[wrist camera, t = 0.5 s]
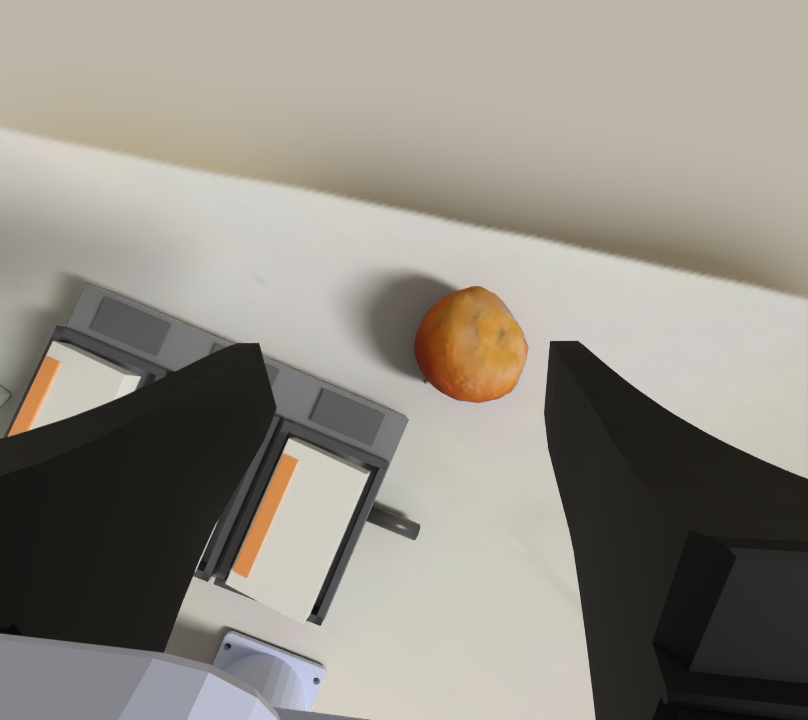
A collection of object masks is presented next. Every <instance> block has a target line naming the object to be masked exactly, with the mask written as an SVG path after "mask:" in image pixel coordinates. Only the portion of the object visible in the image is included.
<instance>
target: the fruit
mask: <svg viewBox="0 0 808 720" xmlns="http://www.w3.org/2000/svg"><path fill="white" fill-rule="evenodd" d="M527 352H528V345H527V343H526V340H525V338H524V334H523V331H522V329H521V328H520V326H519V324H518V323H517V321H516V320H515V318H514V317H513V315H512V314H511V312H510V311H509V309H508V308H507V307H506V305H505V304H504V303H503V301H502V300H501V299H500V298H499V297H498V296H497V295H495V294H494V293H492V292H490V291H488V290H486V289H485V288H482V287H479V286H473V287H469V288H466V289H463V290H460V291H457V292H454V293H452V294H450V295H448V296H446V297H444V298H443V299H441V300H440V301H439V302H438V303H437V304H436V305H435V306H434V307H433V308H432V309H431V310H430V311H429V312H428V313H427V314H426V316H425V317H424V319H423V321H422V323H421V325H420V327H419V330H418V332H417V335H416V340H415V356H416V360H417V363H418V365H419V367H420V370H421V371H422V373H423V374H424V376H425V377H426V379H427V380H426V381H425V382H424V383H425V384H426V383H427V382H430V383H431V384H432V385H433V386H434V387H435V388H436V389H437V390H439V391H440V392H442V393H443V394H445V395H447V396H449V397H451V398H453V399H456V400H460V401H468V402H476V403H481V402H485V401H490V400H495V399H499V398H501V397H503V396H504V395H505V394H508V393H510V392H511V391H512V390H513V389H514V387H515V386H516V385H517V383H518V380H519V378H520V375H521V373H522V371H523V367H524V365H525V362H526V359H527Z"/></svg>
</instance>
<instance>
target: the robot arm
mask: <svg viewBox="0 0 808 720" xmlns="http://www.w3.org/2000/svg"><path fill="white" fill-rule="evenodd" d="M276 409H277V407H276V403H275V400H274V396H273V392H272V389H271V385H270V381H269V378H268V374H267V370H266V367H265V363H264V359H263V356H262V352H261V349H260V345H259V343H237V344H234V345H231V346H228V347H225V348H223V349H221V350H218V351H216V352H214V353H212V354H210V355H208V356H206V357H203V358H201V359H199V360H197V361H195V362H193V363H191V364H189V365H187V366H185V367H183V368H181V369H179V370H177V371H175V372H173V373H171V374H169V375H167V376H165V377H163V378H161V379H159V380H157V381H155V382H153V383H150V384H148V385H146V386H144V387H142V388H140V389H137V390H135V391H133V392H131V393H129V394H127V395H125V396H122V397H120V398H118V399H115V400H113V401H111V402H108V403H106V404H103V405H101V406H98V407H96V408H93V409H90V410H88V411H85V412H83V413H80V414H77V415H75V416H72V417H69V418H66V419H63V420H60V421H57V422H54V423H51V424H47V425H44V426H41V427H38V428H35V429H32V430H29V431H26V432H22V433H19V434H16V435H13V436H9V437H6V438H2V439H0V720H368V719H360V718H353V717H345V716H338V715H330V714H323V713H315V712H311V710H312V707H313V705H314V703H315V700H316V698H317V695H318V693H319V691H320V688H321V686H322V684H323V681H324V679H325V676H326V668H325V667H324V666H323V665H320V664H318V663H315V662H313V661H310V660H307V659H305V658H302V657H300V656H297V655H294V654H292V653H289V652H287V651H284V650H282V649H279V648H276V647H274V646H271V645H269V644H266V643H264V642H261V641H258V640H256V639H253V638H251V637H248V636H245V635H243V634H240V633H238V632H235V631H229V632H228V633H227V634H226V635H225V637H224V639H223V641H222V644H221V646H220V648H219V651H218V653H217V655H216V657H215V660H214V662H213V664H212V665H210V664H206V663H202V662H198V661H194V660H190V659H186V658H182V657H178V656H175V655H171V654H167V653H164V650H165V648H166V645H167V642H168V640H169V637H170V634H171V631H172V629H173V626H174V623H175V621H176V618H177V615H178V612H179V610H180V607H181V604H182V602H183V599H184V597H185V594H186V592H187V590H188V587H189V585H190V582H191V580H192V577H193V575H194V572H195V570H196V568H197V565H198V563H199V560H200V558H201V556H202V554H203V552H204V549H205V547H206V545H207V543H208V540H209V538H210V536H211V534H212V532H213V529H214V527H215V525H216V523H217V521H218V520H219V518H220V516H221V514H222V512H223V510H224V508H225V507H226V505H227V503H228V502H229V500H230V498H231V497H232V495H233V493H234V492H235V490H236V488H237V486H238V485H239V483H240V481H241V480H242V478H243V476H244V475H245V473H246V471H247V470H248V468H249V466H250V464H251V463H252V461H253V459H254V457H255V456H256V454H257V452H258V451H259V449H260V447H261V445H262V443H263V442H264V440H265V437H266V435H267V432H268V430H269V428H270V425H271V423H272V420H273V417H274V414H275V412H276ZM544 416H545V425H546V434H547V442H548V449H549V453H550V457H551V461H552V465H553V469H554V473H555V477H556V481H557V485H558V489H559V492H560V496H561V500H562V504H563V508H564V512H565V516H566V519H567V523H568V527H569V531H570V536H571V541H572V545H573V550H574V557H575V564H576V570H577V577H578V584H579V591H580V598H581V605H582V612H583V620H584V627H585V635H586V642H587V650H588V658H589V667H590V675H591V683H592V691H593V699H594V708H595V717H596V720H808V479H806V478H804V477H801V476H799V475H796V474H794V473H791V472H789V471H786V470H784V469H782V468H779V467H777V466H775V465H772V464H770V463H767V462H765V461H763V460H761V459H758V458H756V457H754V456H752V455H750V454H748V453H746V452H744V451H742V450H739V449H737V448H735V447H733V446H731V445H729V444H727V443H725V442H723V441H721V440H719V439H717V438H715V437H713V436H711V435H709V434H707V433H706V432H704V431H702V430H700V429H699V428H697V427H695V426H693V425H692V424H690V423H688V422H686V421H685V420H683V419H681V418H679V417H678V416H676V415H674V414H673V413H671V412H670V411H668V410H667V409H665V408H663V407H662V406H660V405H659V404H658V403H656V402H655V401H653V400H652V399H650V398H649V397H647V396H646V395H645V394H643V393H642V392H640V391H639V390H638V389H636V388H635V387H634V386H632V385H631V384H630V383H628V382H627V381H626V380H624V379H623V378H622V377H621V376H619V375H618V374H617V373H616V372H614V371H613V370H612V369H611V368H610V367H608V366H607V365H606V364H605V363H604V362H602V361H601V360H600V359H599V358H598V357H597V356H595V355H594V354H593V353H592V352H591V351H590V350H588V349H587V348H586V347H585V346H584V345H582V344H581V343H580V342H579V341H550V348H549V360H548V372H547V385H546V397H545V409H544ZM226 643H229V644H230V645H231V647H227V646H226ZM314 678H319V679H320V680H319V681H315V680H314Z"/></svg>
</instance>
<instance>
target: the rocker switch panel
mask: <svg viewBox="0 0 808 720" xmlns="http://www.w3.org/2000/svg"><path fill="white" fill-rule="evenodd" d="M53 341H57V342H63V343H68V344H72V345H75V346H77V347H79V348H81V349H83V350H85V351H87V352H90V353H92V354H94V355H96V356H98V357H100V358H102V359H105V360H107V361H109V362H111V363H113V364H115V365H117V366H120V367H122V368H124V369H126V370H128V371H130V372H132V373H135V374H137V375H139V376H141V378H140V380H139V382H138V385H137V387H136V389H135V390H137V389H140V388H142V387H144V386H146V385H148V384H150V383H153V382H155V381H157V380H159V379H161V378H163V377H165V376H167V375H169V374H171V373H173V372H175V371H177V370H179V369H181V368H183V367H185V366H187V365H189V364H191V363H193V362H195V361H197V360H199V359H201V358H203V357H206V356H208V355H210V354H212V353H214V352H216V351H218V350H221V349H223V348H225V347H228V346H231V345H234V343H232V342H230V341H227V340H225V339H223V338H220V337H218V336H215V335H213V334H211V333H208V332H206V331H204V330H201V329H199V328H196V327H194V326H192V325H189V324H187V323H185V322H182V321H180V320H178V319H175V318H173V317H170V316H168V315H166V314H163V313H161V312H159V311H156V310H154V309H152V308H149V307H147V306H144V305H142V304H140V303H137V302H135V301H133V300H130V299H128V298H125V297H123V296H121V295H118V294H116V293H114V292H111V291H108V290H105V289H102V288H99V287H96V286H92V285H89V284H86V285H85V287H84V289H83V291H82V294H81V296H80V298H79V300H78V302H77V304H76V306H75V308H74V311H73V313H72V315H71V317H70V319H69V321H68V323H67V325H66V327H62V326H56V328H55V331H54V333H53V335H52V337H51V339H50V341H49V343H48V345H47V348H46V350H45V352H44V354H43V356H42V358H41V360H40V362H39V364H38V367H37V369H36V371H35V373H34V375H33V377H32V379H31V381H30V383H29V386H28V388H27V390H26V392H25V394H24V396H23V398H22V400H21V402H20V405H19V407H18V409H17V411H16V413H15V415H14V417H13V419H12V421H11V424H10V426H9V428H8V430H7V432H6V434H5V436H4V438H6V437H8V435H9V433H10V431H11V428H12V426H13V424H14V422H15V420H16V418H17V416H18V414H19V412H20V409H21V407H22V405H23V403H24V401H25V399H26V397H27V395H28V393H29V390H30V388H31V386H32V384H33V382H34V380H35V378H36V376H37V373H38V371H39V369H40V367H41V365H42V363H43V361H44V359H45V357H46V354H47V352H48V350H49V348H50V346H51V344H52V342H53ZM262 356H263V355H262ZM263 359H264V363H265V367H266V370H267V374H268V378H269V381H270V385H271V389H272V392H273V396H274V400H275V403H276V407H277V409H276V412H275V414H274V417H273V420H272V423H271V425H270V428H269V430H268V432H267V435H266V437H265V440H264V442H263V443H262V445H261V447H260V449H259V451H258V452H257V454H256V456H255V457H254V459H253V461H252V463H251V464H250V466H249V468H248V470H247V471H246V473H245V475H244V476H243V478H242V480H241V481H240V483H239V485H238V486H237V488H236V490H235V492H234V493H233V495H232V497H231V498H230V500H229V502H228V503H227V505H226V507H225V508H224V510H223V512H222V514H221V516H220V518H219V520H218V522H217V524H216V527H215V529H214V531H213V533H212V536H211V538H210V540H209V542H208V545H207V547H206V549H205V551H204V554H203V556H202V558H201V561H200V563H199V565H198V567H197V570H196V572H194V575H193V576H194V577H197V578H200V579H202V580H205V581H207V582H208V581H209V579H210V578H211V577H215V578H216V579H215V581H214V584H215V585H217V586H220V587H222V588H225V589H228V590H230V591H233V592H235V593H238V594H240V595H243V596H245V597H248V598H251V597H249V596H247V595H245V594H243V593H242V592H240V591H238V590H236V589H234V588H232V587H230V586H228V585H227V584H225V583H226V581H227V579H228V576H229V574H230V572H231V570H232V567H233V565H234V563H235V560H236V558H237V556H238V554H239V551H240V549H241V547H242V544H243V542H244V540H245V537H246V535H247V533H248V531H249V528H250V526H251V524H252V521H253V519H254V517H255V515H256V512H257V510H258V508H259V505H260V503H261V501H262V499H263V496H264V494H265V492H266V489H267V487H268V485H269V483H270V480H271V478H272V476H273V473H274V471H275V469H276V466H277V464H278V462H279V460H280V457H281V455H282V453H283V450H284V448H285V446H286V444H287V441H288V439H289V438H294V437H297V438H299V439H301V440H304V441H306V442H308V443H310V444H312V445H314V446H316V447H319V448H321V449H323V450H325V451H327V452H329V453H332V454H334V455H336V456H338V457H340V458H342V459H345V460H347V461H349V462H351V463H353V464H355V465H358V466H360V467H362V468H364V469H366V470H368V471H371V472H370V474H369V476H368V479H367V481H366V483H365V486H364V488H363V491H362V493H361V495H360V498H359V500H358V502H357V505H356V507H355V509H354V512H353V514H352V516H351V519H350V521H349V524H348V526H347V528H346V531H345V533H344V535H343V538H342V540H341V542H340V545H339V547H338V550H337V552H336V554H335V557H334V559H333V561H332V564H331V566H330V568H329V571H328V573H327V575H326V578H325V580H324V583H323V585H322V587H321V590H320V592H319V594H318V597H317V599H316V601H315V604H314V606H313V608H312V611H311V613H310V615H309V617H308V618H307V619H306V620H307V621H309V622H312V623H314V624H317V625H319V626H321V624H322V622H323V620H324V619H325V617H326V614H327V612H328V610H329V607H330V605H331V603H332V600H333V598H334V596H335V593H336V591H337V588H338V586H339V584H340V581H341V579H342V577H343V574H344V572H345V569H346V567H347V565H348V562H349V560H350V558H351V555H352V553H353V551H354V548H355V546H356V543H357V541H358V539H359V536H360V534H361V532H362V529H363V527H364V524H365V522H366V521H368V522H370V523H373V524H375V525H378V526H380V527H382V528H385V529H387V530H390V531H392V532H395V533H397V534H400V535H402V536H405V537H407V538H409V539H412V540H415V539H416V538H417V536H418V533H419V530H420V524H418V523H416V522H413V521H411V520H408V519H406V518H403V517H401V516H398V515H396V514H394V513H391V512H389V511H386V510H384V509H381V508H379V507H376V506H374V505H373V503H374V501H375V498H376V496H377V494H378V491H379V489H380V487H381V484H382V482H383V479H384V477H385V475H386V472H387V470H388V468H389V465H390V463H391V460H392V458H393V456H394V453H395V451H396V449H397V446H398V444H399V442H400V439H401V437H402V434H403V432H404V430H405V427H406V425H407V423H408V420H409V419H408V418H407V417H406V416H405V415H402V414H400V413H398V412H395V411H393V410H391V409H388V408H386V407H383V406H381V405H379V404H376V403H374V402H372V401H369V400H367V399H365V398H362V397H360V396H357V395H355V394H353V393H350V392H348V391H346V390H343V389H341V388H338V387H336V386H334V385H331V384H329V383H327V382H324V381H322V380H320V379H317V378H315V377H312V376H310V375H308V374H305V373H303V372H301V371H298V370H296V369H294V368H291V367H289V366H286V365H284V364H282V363H279V362H277V361H275V360H272V359H270V358H267V357H265V356H263ZM251 599H253V598H251ZM253 600H255V599H253ZM256 601H257V600H256Z"/></svg>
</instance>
